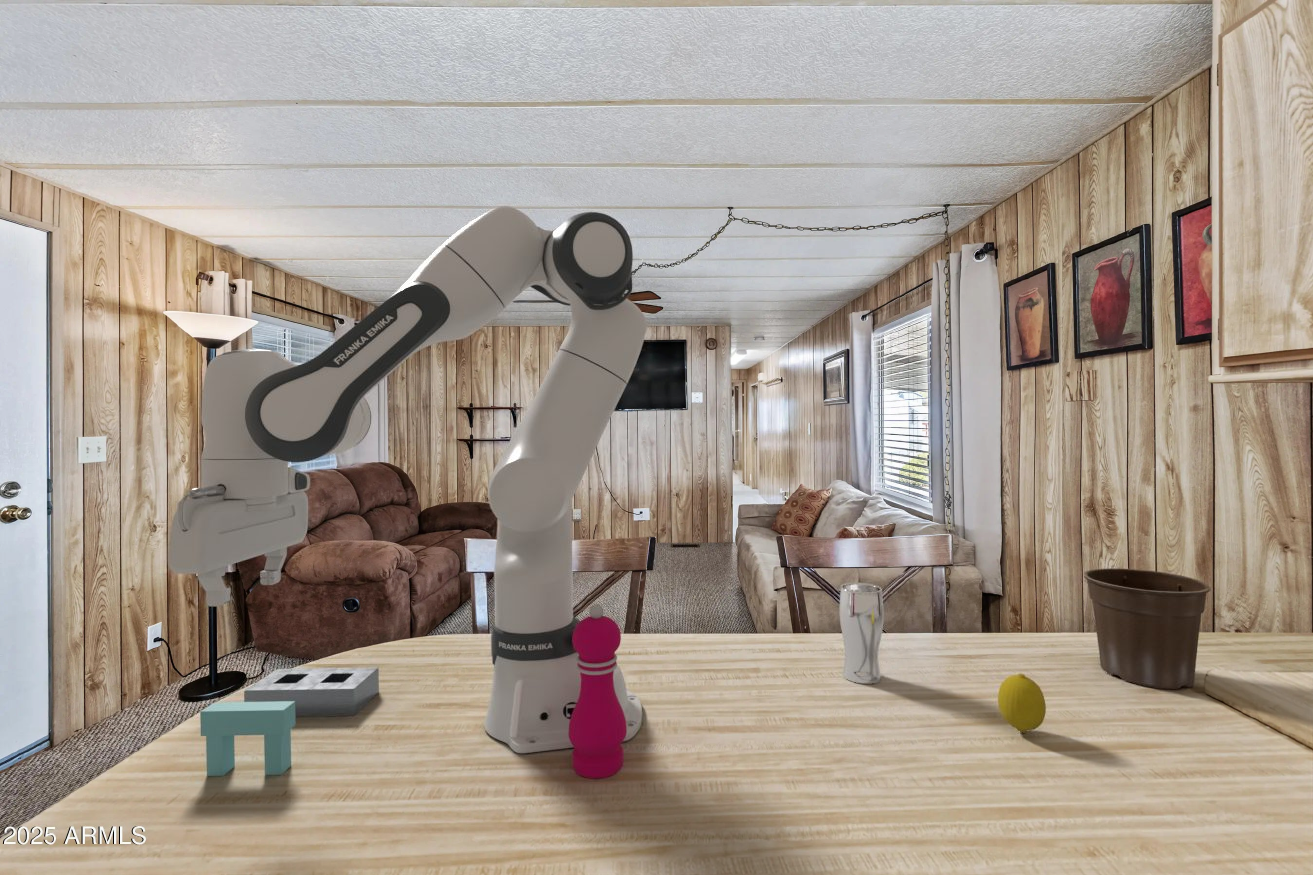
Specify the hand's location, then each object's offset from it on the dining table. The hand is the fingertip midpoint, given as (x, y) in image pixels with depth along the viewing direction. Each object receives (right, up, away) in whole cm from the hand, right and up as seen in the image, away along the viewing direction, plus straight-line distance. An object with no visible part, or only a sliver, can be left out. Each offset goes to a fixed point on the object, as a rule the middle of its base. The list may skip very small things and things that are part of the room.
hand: (246, 593), depth 74 cm
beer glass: (+85, -21, +26) cm, 91 cm away
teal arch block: (0, -22, 0) cm, 22 cm away
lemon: (+100, -21, +7) cm, 103 cm away
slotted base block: (-2, -22, +18) cm, 28 cm away
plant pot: (+132, -21, +26) cm, 136 cm away
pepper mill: (+43, -22, +1) cm, 49 cm away
